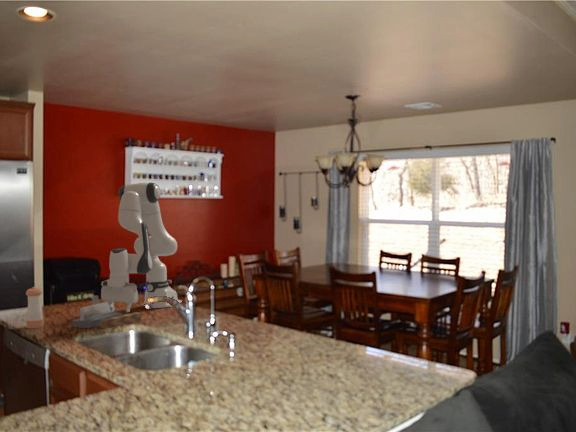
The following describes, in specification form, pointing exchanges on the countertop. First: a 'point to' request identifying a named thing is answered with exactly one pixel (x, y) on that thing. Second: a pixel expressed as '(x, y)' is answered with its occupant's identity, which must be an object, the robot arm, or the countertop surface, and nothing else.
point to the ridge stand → (94, 315)
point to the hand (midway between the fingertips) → (120, 311)
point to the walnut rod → (120, 320)
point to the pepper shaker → (34, 308)
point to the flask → (95, 300)
